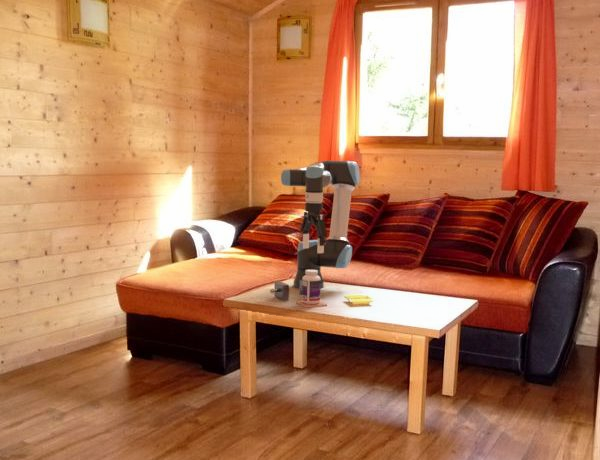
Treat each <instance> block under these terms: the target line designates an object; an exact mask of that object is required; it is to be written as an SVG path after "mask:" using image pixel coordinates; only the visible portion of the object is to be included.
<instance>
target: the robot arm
mask: <svg viewBox="0 0 600 460" xmlns="http://www.w3.org/2000/svg"><path fill="white" fill-rule="evenodd" d="M360 178H361V177H360V168H359V165H358V163H357V162H356V161H352V160H351V161H350V160H322V161H319V162H313V163H311V164H309V165H308V166H305V167H299V168H296V169H295V168H294V169H292V168H291V169H290V168H289V169H283V170H282V172H281V175H280V180H281V184H282V186H286V187H305V195H304V197H305V204H304V205H305V206H304V208H305V209H304V210H305V211H304V212H303V218H302V222H301V225H300V229H299V230H300V232H302V241H300V242H298V244H297V263H296V264H297V265H296V266H297V267H296V268H297V271H296V274H295V277H294V279H293V287H294V288H297V289H300V280H302V278H303V276H305V275H306V274H305V270H318V274H317V275H318V276H319V277H320V279H321V282H320V289H322V288H324V285H325V283H324V282H325V281H324V279H323V275H322V271H321V270H322V269H321V268H332V269H333V268H334V269H335V268H336V269H346V268H347V267H348V266H349V264H350V263H351V259H352V256H353V246H352V245H351V244H350V241H349V240H348V229H349V220H350V210H351V209H350V208H351V202H352V192H353V191H354V190H355V189H356V186H358V185H359V184H360V180H361V179H360ZM330 184H331V188H333V190H334V191H333V201H332V202H333V203H332V209H331V210H332V211H331V218H330V219H331V221H330V230H329V236H328V233H327V232H328V231H327V227H326V223H325V216H324V214H320V213H321V212H322V211H323V207H324V206H323V204H324V203H322V202H323V199H324V188H326V187H328V186H329V185H330ZM312 225H313V226H314V227H315V230H316V234H317V239H310V230H311V228H312ZM325 238H326V239H325Z"/></svg>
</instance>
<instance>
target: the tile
mask: <svg viewBox="0 0 600 460" xmlns="http://www.w3.org/2000/svg"><path fill="white" fill-rule="evenodd" d="M295 303H296V304H297V305H300V306H301V307H302V306H303V307H304V308H306V309H308V308H309V309H310V308H317V307H318V308H319V307H320V308H321V307H327V306H328V305H327V303H324V302H322V301H320V302H319V303H317V304H305V303H303V302H302V300H297V301H295Z"/></svg>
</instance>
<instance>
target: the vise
mask: <svg viewBox="0 0 600 460" xmlns="http://www.w3.org/2000/svg"><path fill="white" fill-rule="evenodd" d="M298 292H299V293H298V294H299V296H301V295H302V280H300V288H299V291H298ZM269 293H273V294H274V295H273V296H274V298H276V299H278V300H280V301H282V302H284V301H285V302H286V301H289V298H290V297H289V296H290V284H287V283H285V282H283V281H274V288H270V289H269Z"/></svg>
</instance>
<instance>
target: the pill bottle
mask: <svg viewBox="0 0 600 460" xmlns="http://www.w3.org/2000/svg"><path fill="white" fill-rule="evenodd" d="M305 274H306V275H305V276H303V278H302V296H301V301H302V302H303V303H305V304H317V303H319V302H321V288H320V282H321V279H320V277H319V276H318V275H317V274H318V270H305Z"/></svg>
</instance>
